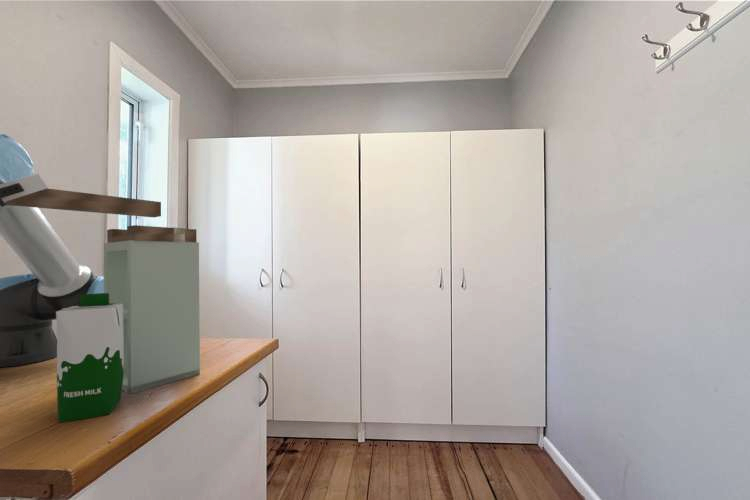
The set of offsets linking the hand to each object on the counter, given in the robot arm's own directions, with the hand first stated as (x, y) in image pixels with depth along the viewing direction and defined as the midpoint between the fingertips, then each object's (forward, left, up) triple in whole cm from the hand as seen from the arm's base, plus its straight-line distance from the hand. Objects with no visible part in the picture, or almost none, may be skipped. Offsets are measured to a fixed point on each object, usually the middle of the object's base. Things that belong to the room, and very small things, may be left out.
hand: (38, 182), depth 65 cm
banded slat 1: (-20, +4, -10) cm, 23 cm away
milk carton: (0, +11, -41) cm, 42 cm away
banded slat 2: (-15, +13, -10) cm, 22 cm away
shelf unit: (-17, +8, -40) cm, 45 cm away
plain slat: (-6, +3, -4) cm, 8 cm away
